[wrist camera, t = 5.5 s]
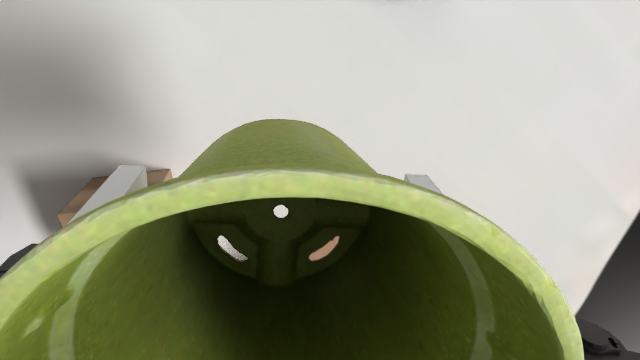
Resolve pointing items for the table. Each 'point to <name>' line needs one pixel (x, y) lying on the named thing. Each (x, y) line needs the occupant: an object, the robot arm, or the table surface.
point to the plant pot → (283, 268)
